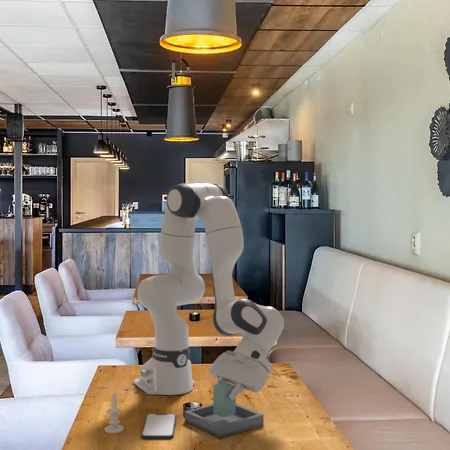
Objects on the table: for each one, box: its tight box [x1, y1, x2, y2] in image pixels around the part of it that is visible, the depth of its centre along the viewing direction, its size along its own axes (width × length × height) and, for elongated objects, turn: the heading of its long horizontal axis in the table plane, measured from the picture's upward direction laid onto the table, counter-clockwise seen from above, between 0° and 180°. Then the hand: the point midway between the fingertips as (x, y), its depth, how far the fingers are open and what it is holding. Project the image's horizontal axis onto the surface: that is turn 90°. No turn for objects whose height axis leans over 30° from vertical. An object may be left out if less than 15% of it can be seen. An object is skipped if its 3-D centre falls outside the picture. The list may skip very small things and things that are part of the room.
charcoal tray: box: [184, 403, 265, 440], centre depth 172 cm, size 16×16×3 cm
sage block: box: [212, 382, 237, 417], centre depth 171 cm, size 4×4×8 cm
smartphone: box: [140, 413, 177, 440], centre depth 168 cm, size 9×2×16 cm
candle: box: [104, 393, 125, 434], centre depth 166 cm, size 5×5×10 cm
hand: (222, 395), depth 171 cm, fingers closed on sage block, 4 cm apart
